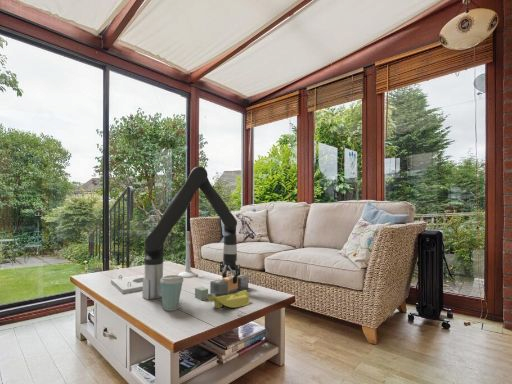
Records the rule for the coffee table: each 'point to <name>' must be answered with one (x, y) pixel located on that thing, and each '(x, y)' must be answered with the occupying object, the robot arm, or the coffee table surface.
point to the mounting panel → (129, 283)
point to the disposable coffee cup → (171, 291)
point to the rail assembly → (222, 286)
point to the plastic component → (231, 300)
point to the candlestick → (188, 261)
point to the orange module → (231, 283)
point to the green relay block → (201, 293)
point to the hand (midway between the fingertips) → (229, 281)
